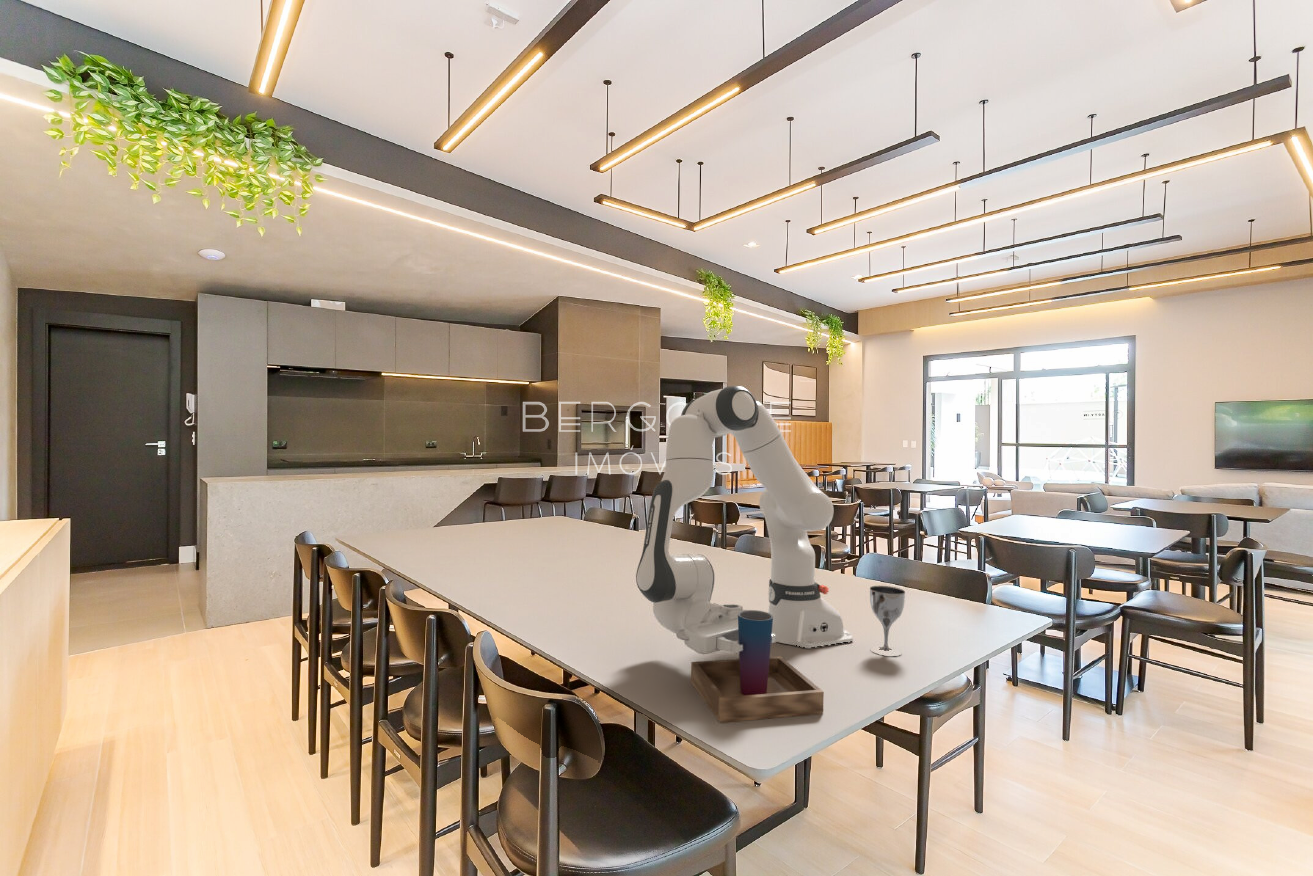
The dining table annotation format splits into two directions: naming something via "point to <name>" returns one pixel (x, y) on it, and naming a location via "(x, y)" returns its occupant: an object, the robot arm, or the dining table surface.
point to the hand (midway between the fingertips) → (757, 643)
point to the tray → (783, 696)
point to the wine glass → (887, 607)
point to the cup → (754, 650)
